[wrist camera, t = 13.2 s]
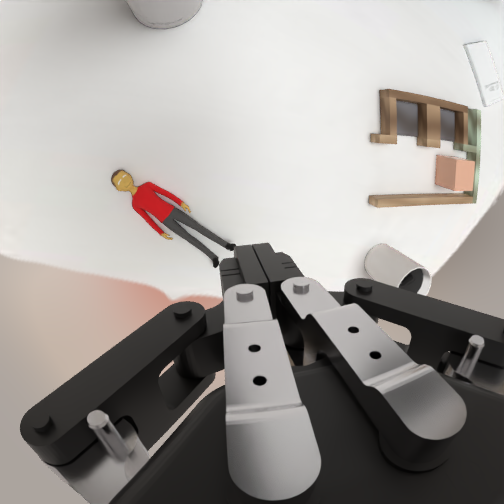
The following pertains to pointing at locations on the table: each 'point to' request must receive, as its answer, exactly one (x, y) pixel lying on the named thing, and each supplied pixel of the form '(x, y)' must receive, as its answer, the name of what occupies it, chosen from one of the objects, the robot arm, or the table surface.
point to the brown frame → (428, 138)
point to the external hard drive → (484, 72)
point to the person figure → (165, 212)
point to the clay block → (454, 173)
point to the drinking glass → (397, 270)
